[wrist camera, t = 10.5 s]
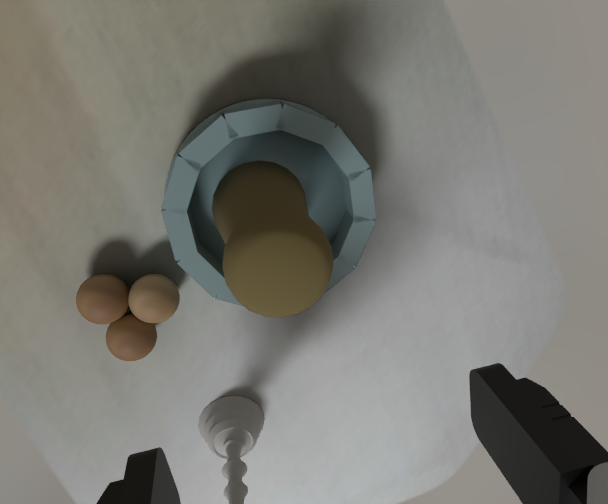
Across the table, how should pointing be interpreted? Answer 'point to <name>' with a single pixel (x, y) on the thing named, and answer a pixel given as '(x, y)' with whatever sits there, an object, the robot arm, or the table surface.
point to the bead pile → (134, 325)
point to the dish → (274, 148)
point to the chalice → (232, 438)
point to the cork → (270, 240)
